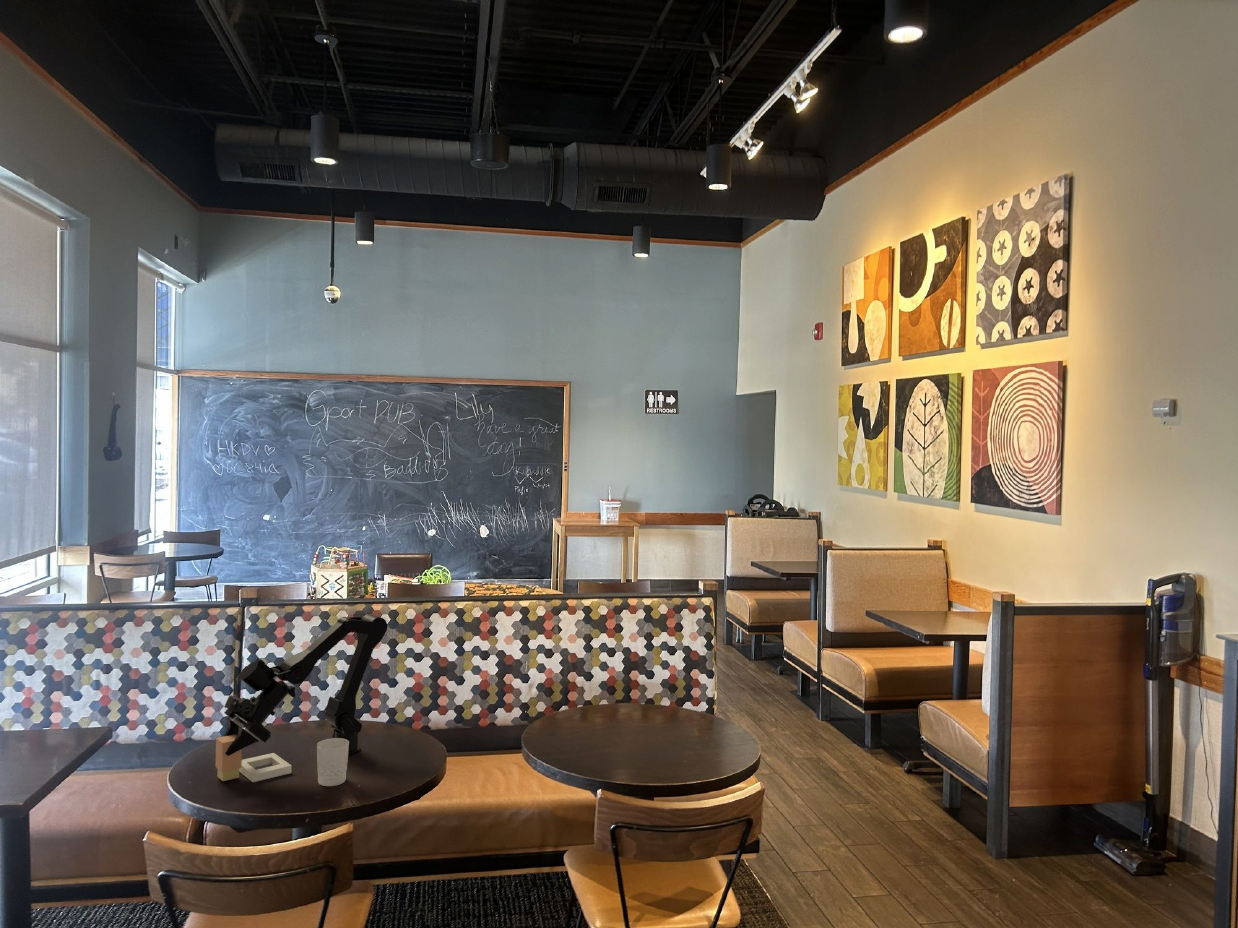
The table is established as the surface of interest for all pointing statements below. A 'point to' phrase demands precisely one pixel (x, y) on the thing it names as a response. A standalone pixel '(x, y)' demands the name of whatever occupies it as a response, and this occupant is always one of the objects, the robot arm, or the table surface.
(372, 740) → the table surface
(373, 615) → the robot arm
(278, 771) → the socket
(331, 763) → the white cup
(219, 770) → the plug
